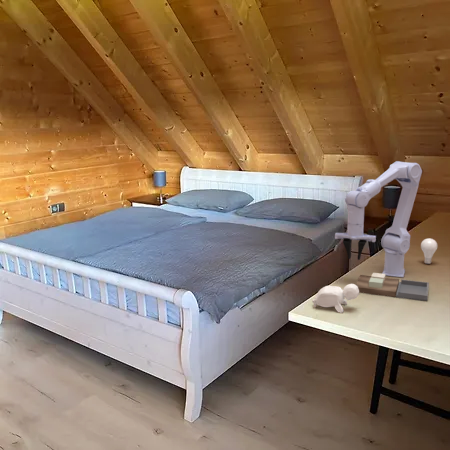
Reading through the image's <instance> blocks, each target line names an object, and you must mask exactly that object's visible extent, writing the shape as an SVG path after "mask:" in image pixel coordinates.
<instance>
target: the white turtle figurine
mask: <svg viewBox="0 0 450 450" xmlns="http://www.w3.org/2000/svg"><path fill="white" fill-rule="evenodd" d="M359 295H360V293H359V289H358V287H357V286H356V283H355V284H354V283H349V284H346V285H345V286H344V287H343V288H342V287H340V286H338V285H337V286H336V285H326V286H323V287H322V288H320V289H319V290H318V292H317V293H316V295H315V298H314V299H312V303H313V307H314V308H315V307H316V308H317V306H319V307H323V308H331V307H333V308H335V310H336V311H337V312H338V313H339V312H340V313H339V314H343V313H344V308H343V306H342V305H344V306H347V305H348V301H351V300H354V299H357V298H358V297H359Z"/></svg>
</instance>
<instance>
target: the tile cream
mask: <svg viewBox="0 0 450 450" xmlns="http://www.w3.org/2000/svg"><path fill="white" fill-rule="evenodd" d="M370 276H371V278H379V279H384V281H385V278H386V274H382V273H378V272H372V274H371V275H370Z"/></svg>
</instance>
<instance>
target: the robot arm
mask: <svg viewBox="0 0 450 450" xmlns="http://www.w3.org/2000/svg"><path fill="white" fill-rule="evenodd" d="M422 174H423V170H422V168H421V166H420V164H419V163H417V162H408V161H407V162H406V161H399V160H396V161H395V162H393V163H392V164H390V165H389V168H388V169H387V170H386V171H384V172H383V173H382V174H380V175H379V176H378V177H377V178H375V179H373V178H372V179H367V180H366V181H365V182H364V183H363V184H361V186H358V187H357V188H355V190H354V189H353V190H350V191H348V193H347V194H346V196H345V198H344V202H345V204H346V209H347V228H346V230H347V232H335V234H334V239H335V240H338V239H340V240H342V244H343V245H344V248H345V250H346V254H347V259H348V260H350V259H351V258H352V241H358V242H357V248H358V249H357V250H358V251H357V261H359V260H361V257H362V253H363V250H364V247H365V245H366V244H367V242H372V243H375V242H376V240H377V239H376V238H377V235H371V234H366V233H364V227H365V226H364V222H365V207H367V206H368V204H369V201H370V200H371V199H372V198H374V197H375V196H376V195H378V194H379V193H380V192H381V190H382V187H384V186H386V185H388V184H389V183H391V182H392V181H394V180H396V181H397V182H398V183H399V184H400V186H401V187H402V189H401V192H400V195H399V199H398V202H397V207H396V210H395V213H394V218H393V222H392V225H391V226H390V227H389V228H386V230H385V233H384V234H383V236H381V237H382V238H381V239H380V241H381V242H380V245H381V247H382V248H383V251H384V266H383V271H382V273H381V274H386V275H385V277H386V276H389V277H395V278H396V277H397V278H404V277H405V272H406V268H405V267H404V265H405V255H406V254H407V252H408V251H409V249H410V247H411V243H410V242H411V234H410V232H408V230H407V228H408V226H409V225H408V224H409V223H410V217H411V213H412V211H413V207H414V204H415V203H414V202H415V200H416V196H417V192H418V188H419V187H420V185H419V184H420V180H421V177H422Z"/></svg>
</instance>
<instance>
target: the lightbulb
mask: <svg viewBox="0 0 450 450" xmlns="http://www.w3.org/2000/svg"><path fill="white" fill-rule="evenodd" d="M420 249H421V251H422V252H423V256H424V263H425V264H426V265H430V264H431V263H432V258H433V256H434V254H435V252H436V251H437V249H438V243H437V241H436V240H435V239H433V238H429V237H428V238H425V239H423V240H422V241H421V243H420Z"/></svg>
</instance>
